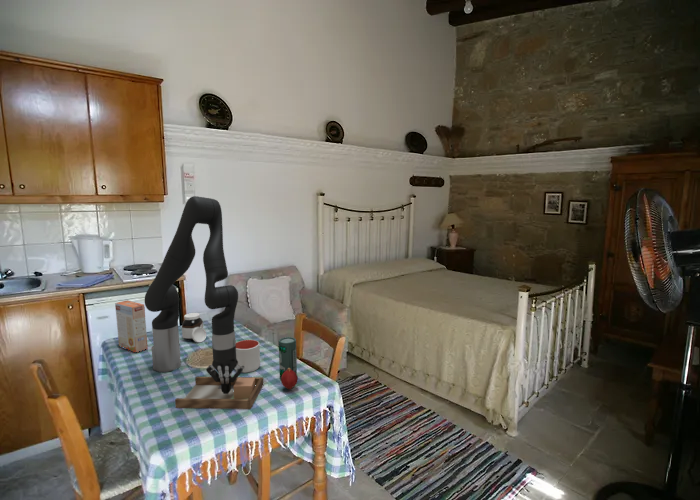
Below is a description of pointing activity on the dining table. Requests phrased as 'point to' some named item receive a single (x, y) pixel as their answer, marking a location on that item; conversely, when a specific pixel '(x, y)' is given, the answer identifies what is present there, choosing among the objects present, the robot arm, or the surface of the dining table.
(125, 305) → the cracker box
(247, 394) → the block
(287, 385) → the red oval fruit
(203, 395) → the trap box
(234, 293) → the robot arm
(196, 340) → the spread jar
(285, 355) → the can
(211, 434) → the dining table surface
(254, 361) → the cup
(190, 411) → the dining table surface
